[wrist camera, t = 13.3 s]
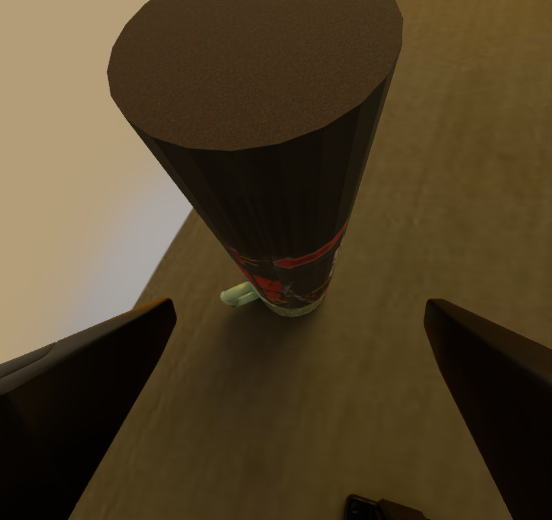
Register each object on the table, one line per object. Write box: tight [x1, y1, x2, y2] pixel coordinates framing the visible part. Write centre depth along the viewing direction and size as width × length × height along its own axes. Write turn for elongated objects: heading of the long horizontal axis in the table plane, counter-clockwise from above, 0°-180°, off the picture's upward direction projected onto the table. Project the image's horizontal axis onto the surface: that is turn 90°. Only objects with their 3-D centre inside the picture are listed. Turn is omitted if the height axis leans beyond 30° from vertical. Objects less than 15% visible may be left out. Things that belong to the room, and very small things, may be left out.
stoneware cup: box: [220, 281, 327, 317], centre depth 21 cm, size 9×6×4 cm
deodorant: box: [107, 0, 403, 309], centre depth 12 cm, size 6×6×15 cm
